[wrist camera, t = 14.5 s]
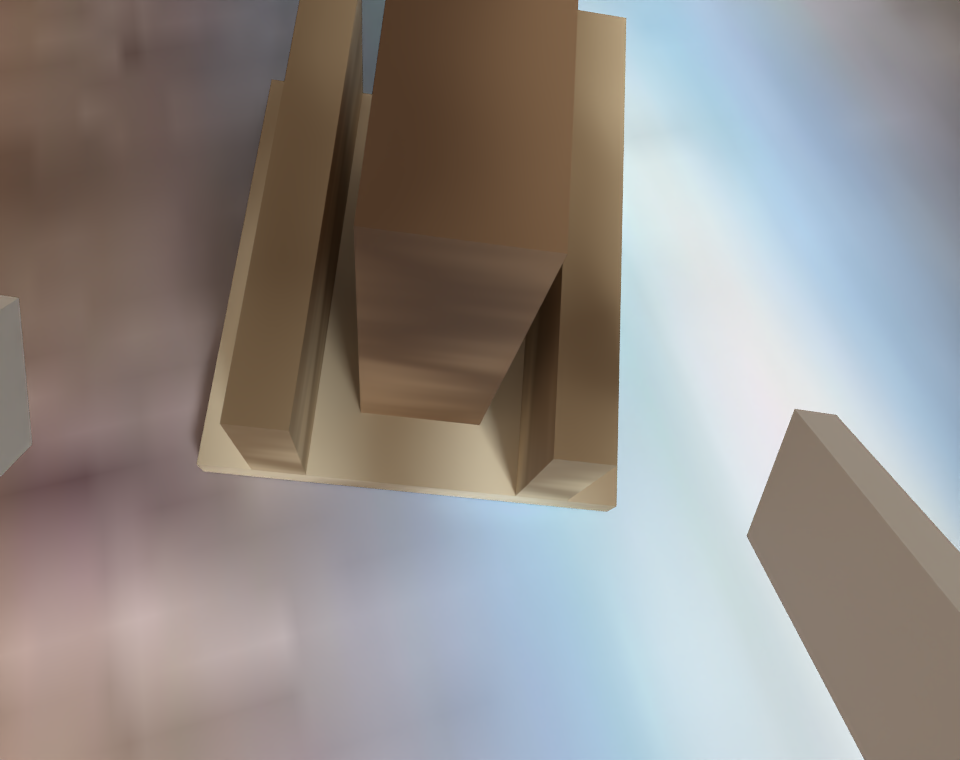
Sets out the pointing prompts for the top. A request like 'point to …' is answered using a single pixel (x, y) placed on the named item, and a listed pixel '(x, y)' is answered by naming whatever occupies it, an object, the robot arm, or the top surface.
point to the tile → (461, 198)
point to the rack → (333, 308)
